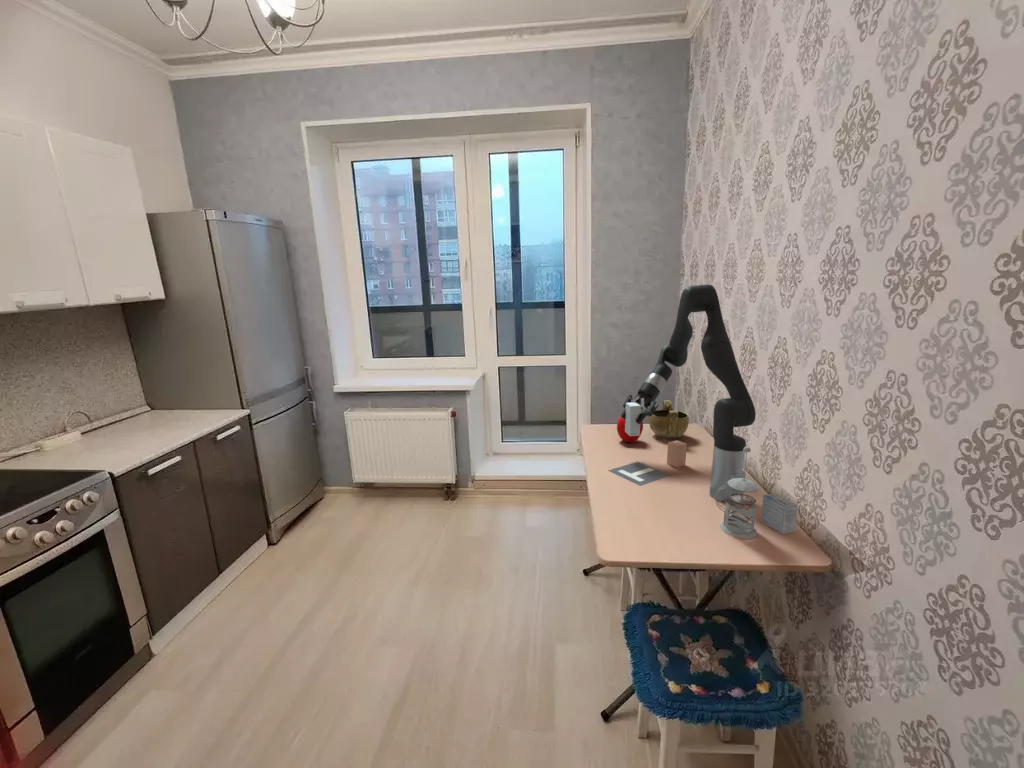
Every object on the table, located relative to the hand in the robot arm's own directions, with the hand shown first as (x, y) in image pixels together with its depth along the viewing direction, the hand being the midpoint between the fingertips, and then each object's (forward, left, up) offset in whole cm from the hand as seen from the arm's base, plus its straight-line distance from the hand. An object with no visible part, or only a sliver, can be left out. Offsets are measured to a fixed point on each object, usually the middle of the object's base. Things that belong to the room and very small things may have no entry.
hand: (630, 420), depth 181 cm
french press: (-54, +13, -17) cm, 58 cm away
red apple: (+15, -16, -17) cm, 28 cm away
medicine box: (-60, +2, -17) cm, 62 cm away
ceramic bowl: (+10, -35, -17) cm, 40 cm away
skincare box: (0, -2, -6) cm, 6 cm away
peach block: (-14, -11, -17) cm, 24 cm away
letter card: (-12, +7, -16) cm, 21 cm away
